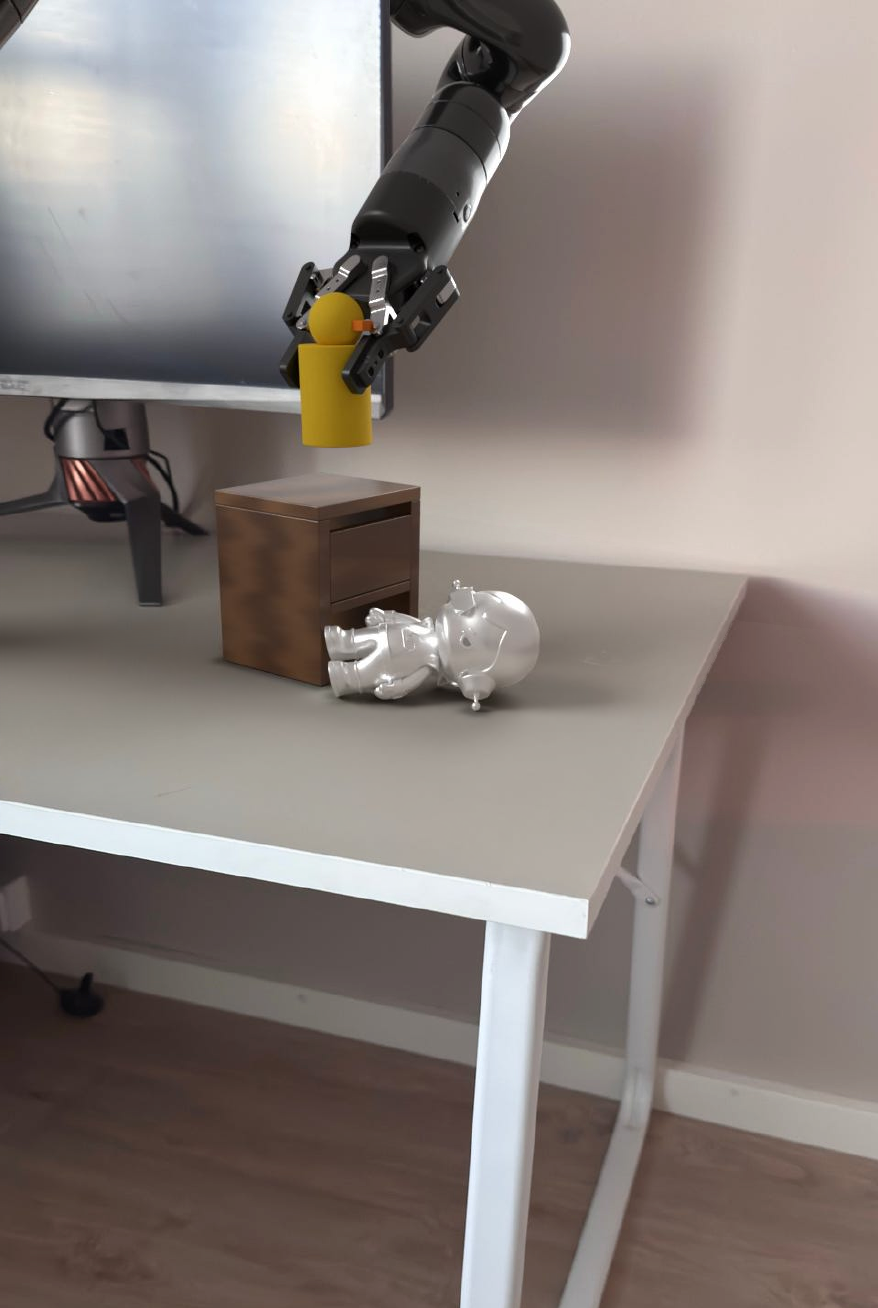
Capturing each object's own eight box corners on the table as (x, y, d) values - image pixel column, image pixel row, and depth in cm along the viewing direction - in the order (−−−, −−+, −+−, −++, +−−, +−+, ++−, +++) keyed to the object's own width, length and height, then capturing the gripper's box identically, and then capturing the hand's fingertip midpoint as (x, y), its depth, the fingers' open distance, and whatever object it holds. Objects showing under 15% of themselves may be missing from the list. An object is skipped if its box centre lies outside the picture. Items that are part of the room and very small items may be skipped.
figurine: (315, 577, 83) (525, 540, 82) (334, 628, 89) (529, 595, 89) (329, 711, 79) (550, 674, 78) (348, 753, 85) (552, 720, 85)
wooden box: (222, 660, 91) (214, 489, 86) (323, 627, 100) (321, 472, 95) (321, 686, 86) (318, 506, 81) (418, 649, 95) (421, 486, 90)
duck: (288, 444, 87) (280, 292, 83) (333, 437, 91) (328, 292, 87) (348, 450, 84) (343, 292, 80) (392, 443, 88) (389, 292, 84)
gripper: (324, 170, 90) (219, 340, 86) (480, 165, 83) (374, 351, 78) (367, 248, 96) (271, 410, 92) (516, 250, 89) (419, 427, 84)
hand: (319, 382), depth 85 cm, fingers closed on duck, 5 cm apart
